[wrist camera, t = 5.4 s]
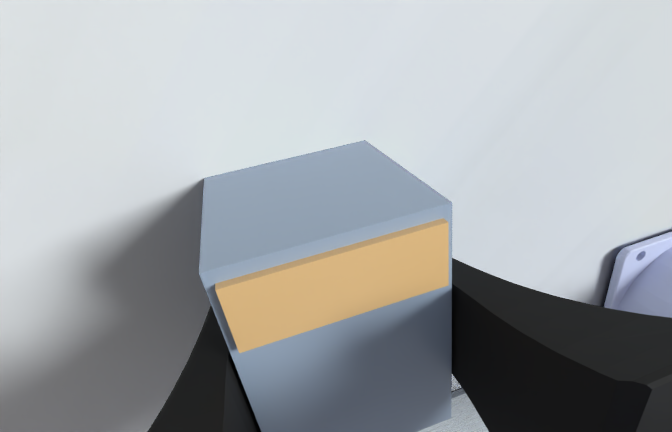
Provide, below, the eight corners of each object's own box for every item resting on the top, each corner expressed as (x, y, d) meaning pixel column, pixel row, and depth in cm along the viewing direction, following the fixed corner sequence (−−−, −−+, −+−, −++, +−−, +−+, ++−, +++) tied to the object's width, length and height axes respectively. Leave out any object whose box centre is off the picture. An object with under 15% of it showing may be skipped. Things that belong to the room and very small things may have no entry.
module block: (365, 140, 12) (457, 206, 7) (383, 308, 15) (455, 424, 11) (203, 178, 11) (198, 280, 6) (261, 348, 14) (283, 493, 10)
